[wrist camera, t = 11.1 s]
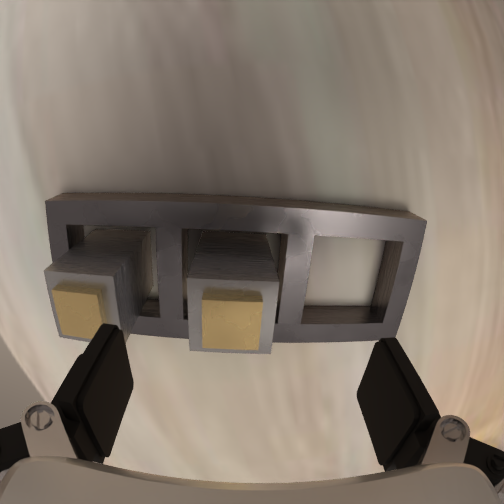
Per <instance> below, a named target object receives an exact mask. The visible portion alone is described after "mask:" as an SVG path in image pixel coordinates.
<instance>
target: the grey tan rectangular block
mask: <svg viewBox="0 0 504 504" xmlns="http://www.w3.org/2000/svg"><path fill="white" fill-rule="evenodd" d="M44 274H45V279H46V284H47V289H48V293H49V298H50V302H51V306H52V310H53V314H54V318H55V322H56V326H57V329H58V333H59V336H60V337H63V338H68V339H74V340H80V341H86V342H91V340H92V338H93V337H94V335H95V334H96V332H97V330H98V329H99V327H100V326H101V324H103V323H106V324H113V325H117V326H118V327H119V329H121V330H122V331H123V334H124V339H125V344H126V341H127V339H128V337H129V335H130V333H131V331H132V329H133V327H134V324H135V322H136V320H137V318H138V316H139V314H140V312H141V310H142V308H143V306H144V304H145V302H146V300H147V298H148V296H149V294H150V292H151V290H152V288H153V286H154V285H153V270H152V250H151V231H145V230H118V229H95V230H94V231H93V232H91V233H90V234H89V235H87V236H86V237H85V238H84V239H82V240H81V241H80V242H78V243H77V244H76V245H75V246H73V247H72V248H71V249H70V250H68V251H67V252H66V253H65V254H63V255H62V256H61V257H60V258H58V259H57V260H56V261H55V262H54V263H52V264H51V265H50V266H49V267H48V268H46V269H45V270H44Z"/></svg>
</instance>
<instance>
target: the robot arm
mask: <svg viewBox="0 0 504 504" xmlns="http://www.w3.org/2000/svg"><path fill="white" fill-rule="evenodd" d="M132 390H133V377H132V373H131V369H130V364H129V359H128V354H127V349H126V344H125V339H124V334H123V331H122V330H121V329H119V327H118V326H117V325H113V324H106V323H103V324H101V326H100V327H99V329H98V330H97V332H96V334H95V335H94V337H93V338H92V340H91V342H90V343H89V345H88V346H87V348H86V350H85V351H84V353H83V354H81V355H79V357H78V358H77V359H76V361H75V363H74V364H73V366H72V368H71V369H70V371H69V373H68V374H67V376H66V378H65V379H64V381H63V383H62V384H61V386H60V388H59V390H58V391H57V393H56V395H55V397H54V398H53V400H52V402H51V403H49V402H45V401H38V402H34V403H32V404H30V405H28V406H27V407H26V408H25V409H24V411H23V412H22V415H21V422H19V423H17V424H14V425H11V426H8V427H5V428H2V429H0V504H504V452H503V451H502V450H499V449H497V448H495V447H492V446H490V445H487V444H485V443H483V442H480V441H478V440H475V439H473V438H471V437H470V429H469V426H468V425H467V423H466V422H465V421H464V420H463V419H461V418H459V417H457V416H453V415H446V416H443V417H441V416H440V414H439V411H438V409H437V407H436V406H435V404H434V402H433V400H432V398H431V397H430V395H429V393H428V391H427V389H426V388H425V386H424V384H423V382H422V381H421V379H420V377H419V375H418V374H417V372H416V370H415V369H414V367H413V365H412V363H411V362H410V360H409V358H408V357H407V355H406V353H405V352H404V350H403V348H402V347H401V345H400V343H399V342H398V340H397V339H396V338H394V337H391V338H381V339H380V340H379V342H376V343H375V345H374V348H373V351H372V353H371V356H370V359H369V362H368V364H367V367H366V370H365V372H364V375H363V378H362V380H361V383H360V385H359V388H358V391H357V400H358V402H359V405H360V408H361V411H362V414H363V417H364V420H365V423H366V426H367V429H368V432H369V435H370V438H371V441H372V444H373V447H374V450H375V453H376V456H377V459H378V462H379V464H380V465H383V467H384V470H385V472H381V473H375V474H369V475H363V476H356V477H349V478H342V479H333V480H323V481H311V482H295V483H229V482H213V481H201V480H191V479H182V478H174V477H167V476H160V475H154V474H148V473H143V472H137V471H132V470H127V469H122V468H117V467H113V466H108V465H104V464H103V462H104V459H105V457H109V456H110V454H111V451H112V448H113V445H114V442H115V439H116V436H117V433H118V430H119V427H120V424H121V421H122V418H123V415H124V412H125V410H126V407H127V404H128V401H129V399H130V396H131V393H132ZM93 461H94V462H98V463H94V462H93ZM100 463H102V464H100ZM396 469H397V470H396Z"/></svg>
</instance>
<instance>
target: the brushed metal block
mask: <svg viewBox="0 0 504 504" xmlns="http://www.w3.org/2000/svg"><path fill="white" fill-rule="evenodd" d="M278 290H279V279H278V275H277V272H276V268H275V264H274V261H273V257H272V254H271V250H270V247H269V243H268V240H267V236H266V233H247V232H226V231H204V230H203V232H202V235H201V238H200V241H199V244H198V246H197V249H196V252H195V255H194V258H193V261H192V264H191V267H190V270H189V273H188V277H187V297H188V326H189V347H190V351H203V352H222V353H251V354H271V347H272V339H273V332H274V324H275V315H276V307H277V299H278Z"/></svg>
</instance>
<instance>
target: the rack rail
mask: <svg viewBox="0 0 504 504" xmlns="http://www.w3.org/2000/svg"><path fill="white" fill-rule="evenodd" d="M45 204H46V215H47V225H48V233H49V241H50V248H51V255H52V261H53V263H54V262H55V261H56V260H57V259H58V258H60V257H61V256H62V255H63V254H65V253H66V252H67V251H68V250H70V249H71V248H72V247H73V246H75V245H76V244H77V243H78V242H80V241H81V240H82V239H84V229H83V225H106V226H136V227H156V252H157V273H158V290H159V299H150V298H147V300H146V302H145V304H144V306H143V308H142V310H141V312H140V314H139V316H138V318H137V320H136V322H135V324H134V327H133V329H132V331H131V333H130V334H139V335H149V336H160V337H172V338H185V339H189V326H188V297H187V277H188V229H208V230H229V231H248V232H267V233H282V236H281V246H280V255H279V264H278V274H277V275H278V279H279V290H278V299H277V307H276V315H275V324H274V332H273V339H272V342H283V343H309V342H352V341H374V340H380V339H381V338H391V337H394V338H395V337H396V334H397V331H398V328H399V325H400V322H401V319H402V316H403V313H404V309H405V306H406V303H407V300H408V296H409V293H410V289H411V286H412V282H413V279H414V275H415V271H416V267H417V263H418V259H419V255H420V251H421V247H422V242H423V238H424V233H425V228H426V224H427V221H426V220H424V219H423V218H421V217H419V216H417V215H415V214H413V213H411V212H409V211H401V210H393V209H384V208H375V207H366V206H357V205H347V204H336V203H326V202H314V201H302V200H289V199H275V198H260V197H244V196H225V195H202V194H172V193H62V194H60V195H58V196H55V197H53V198H51V199H48V200H46V201H45ZM314 235H317V236H332V237H347V238H362V239H376V240H386V244H385V249H384V253H383V258H382V263H381V267H380V271H379V276H378V280H377V284H376V288H375V292H374V296H373V300H372V304H371V306H304V302H305V296H306V289H307V283H308V277H309V270H310V263H311V256H312V249H313V242H314Z"/></svg>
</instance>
